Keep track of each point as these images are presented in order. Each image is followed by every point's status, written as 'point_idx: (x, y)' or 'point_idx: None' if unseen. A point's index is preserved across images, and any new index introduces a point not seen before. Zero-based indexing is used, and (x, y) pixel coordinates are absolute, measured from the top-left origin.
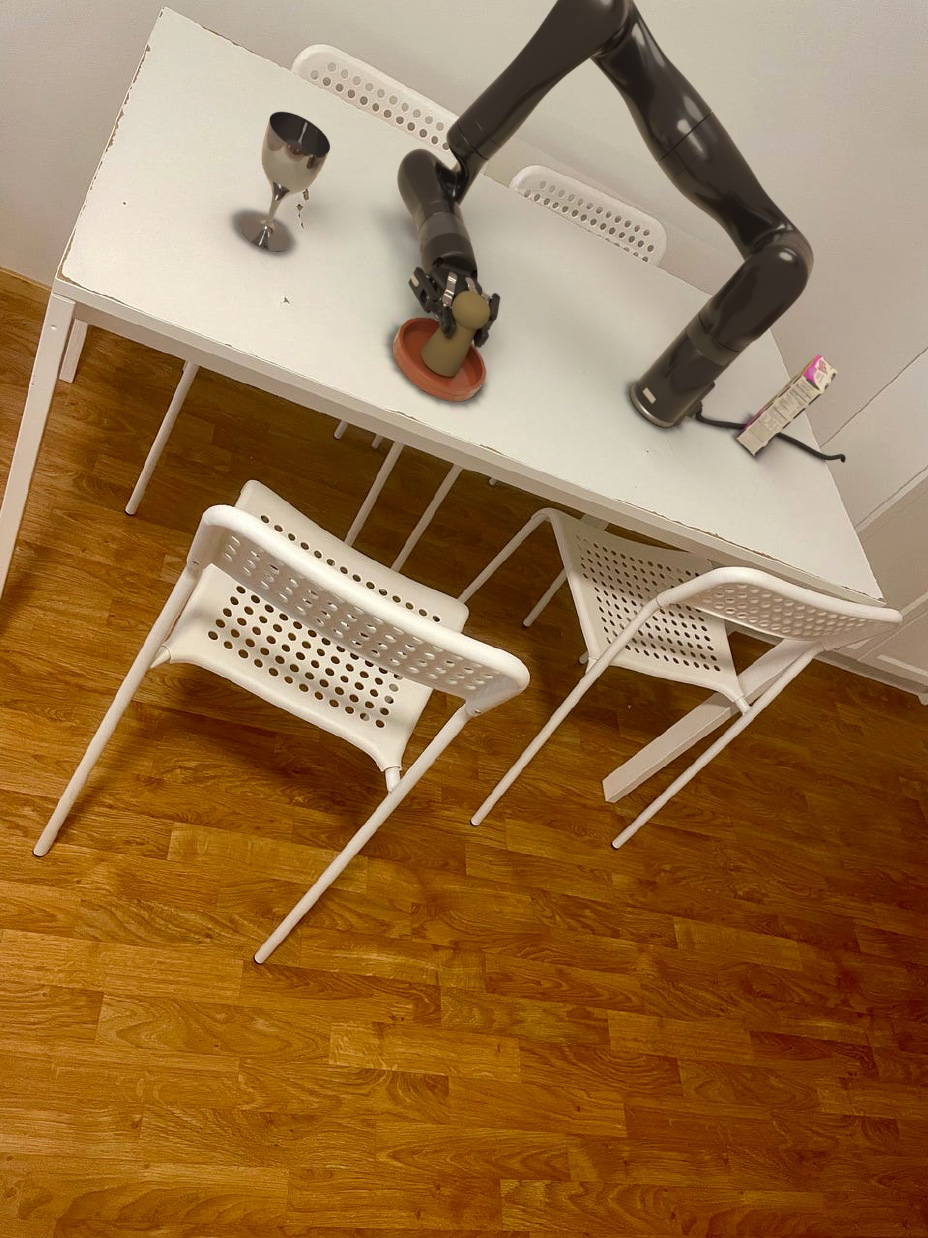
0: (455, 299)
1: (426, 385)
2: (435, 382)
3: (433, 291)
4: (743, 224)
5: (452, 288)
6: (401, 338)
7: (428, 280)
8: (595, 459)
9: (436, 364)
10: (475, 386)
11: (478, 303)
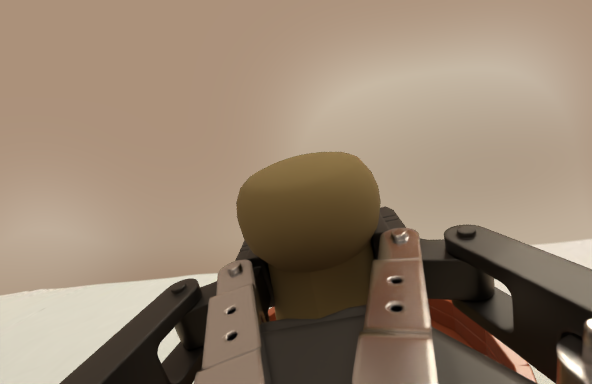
0: (375, 185)
1: None
2: None
3: (483, 247)
4: None
5: (384, 278)
6: (511, 354)
7: (560, 292)
8: (69, 325)
9: None
10: (273, 309)
11: (294, 158)
